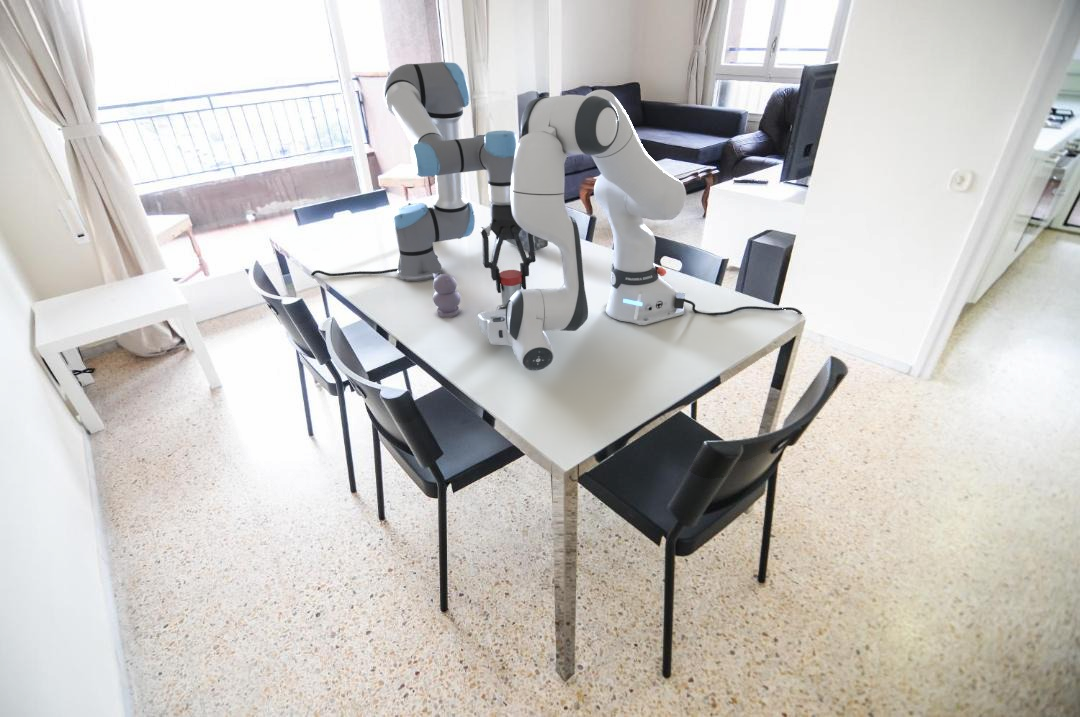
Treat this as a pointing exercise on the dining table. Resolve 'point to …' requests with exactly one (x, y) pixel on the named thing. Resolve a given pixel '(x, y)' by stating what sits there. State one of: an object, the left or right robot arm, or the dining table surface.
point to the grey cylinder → (508, 293)
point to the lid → (510, 277)
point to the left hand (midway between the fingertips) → (511, 289)
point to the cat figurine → (446, 295)
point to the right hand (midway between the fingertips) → (511, 305)
